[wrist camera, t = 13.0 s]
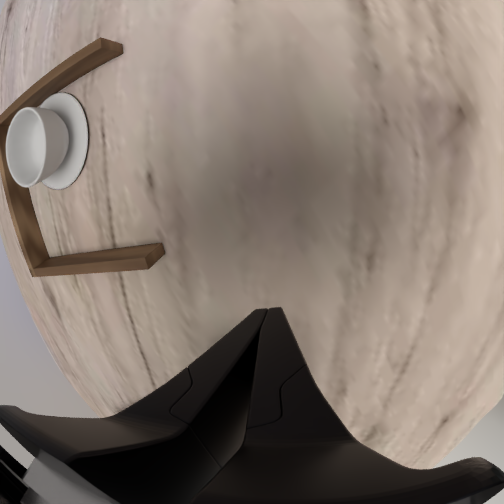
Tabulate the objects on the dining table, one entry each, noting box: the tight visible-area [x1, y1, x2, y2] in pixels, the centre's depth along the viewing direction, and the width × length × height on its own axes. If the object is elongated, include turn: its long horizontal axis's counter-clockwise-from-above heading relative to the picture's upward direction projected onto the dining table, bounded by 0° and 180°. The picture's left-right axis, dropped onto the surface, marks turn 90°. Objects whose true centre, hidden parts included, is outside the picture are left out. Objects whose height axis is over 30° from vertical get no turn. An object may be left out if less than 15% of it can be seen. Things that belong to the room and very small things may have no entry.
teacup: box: [6, 92, 88, 190], centre depth 19 cm, size 10×10×5 cm
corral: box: [0, 38, 165, 277], centre depth 21 cm, size 19×18×3 cm
